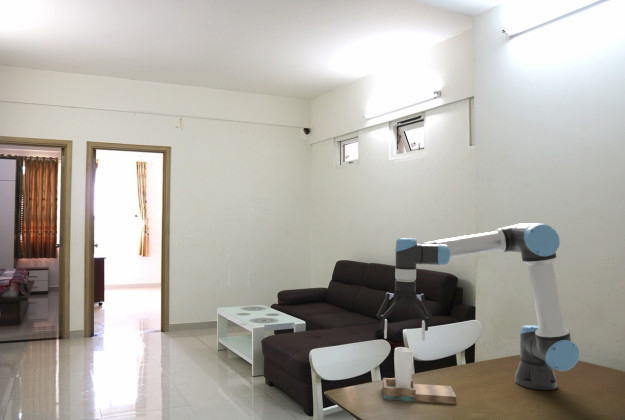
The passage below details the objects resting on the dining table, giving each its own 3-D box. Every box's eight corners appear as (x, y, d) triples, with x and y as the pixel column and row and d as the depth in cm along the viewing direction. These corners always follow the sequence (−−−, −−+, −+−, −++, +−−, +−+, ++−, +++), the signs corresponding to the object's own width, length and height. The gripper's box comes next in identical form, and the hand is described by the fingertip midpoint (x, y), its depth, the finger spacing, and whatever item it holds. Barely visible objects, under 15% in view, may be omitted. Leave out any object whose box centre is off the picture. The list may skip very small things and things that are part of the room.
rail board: (450, 392, 181) (450, 382, 181) (456, 403, 170) (456, 392, 170) (382, 388, 184) (382, 377, 184) (383, 399, 173) (384, 387, 173)
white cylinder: (413, 389, 180) (414, 348, 180) (411, 395, 173) (412, 352, 174) (395, 386, 182) (396, 346, 182) (391, 392, 176) (393, 350, 176)
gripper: (438, 280, 181) (437, 337, 181) (370, 277, 184) (369, 334, 183) (441, 282, 174) (440, 342, 173) (371, 280, 176) (369, 339, 176)
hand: (404, 338), depth 178 cm, fingers open, 13 cm apart
